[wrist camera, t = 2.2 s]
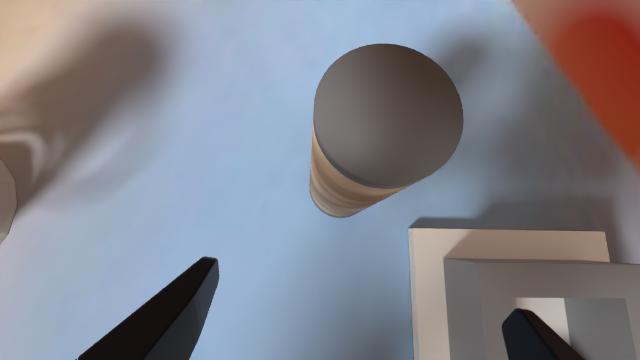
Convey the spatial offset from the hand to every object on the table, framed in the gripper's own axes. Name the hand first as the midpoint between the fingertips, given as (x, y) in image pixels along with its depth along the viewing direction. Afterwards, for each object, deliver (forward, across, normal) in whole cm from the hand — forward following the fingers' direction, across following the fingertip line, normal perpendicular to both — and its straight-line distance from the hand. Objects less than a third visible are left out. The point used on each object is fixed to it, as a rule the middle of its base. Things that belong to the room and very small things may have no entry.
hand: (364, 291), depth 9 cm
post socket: (+6, -13, +10) cm, 18 cm away
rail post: (+12, 0, +5) cm, 13 cm away
